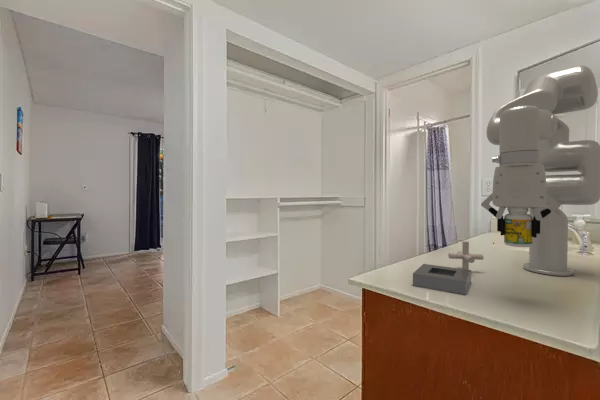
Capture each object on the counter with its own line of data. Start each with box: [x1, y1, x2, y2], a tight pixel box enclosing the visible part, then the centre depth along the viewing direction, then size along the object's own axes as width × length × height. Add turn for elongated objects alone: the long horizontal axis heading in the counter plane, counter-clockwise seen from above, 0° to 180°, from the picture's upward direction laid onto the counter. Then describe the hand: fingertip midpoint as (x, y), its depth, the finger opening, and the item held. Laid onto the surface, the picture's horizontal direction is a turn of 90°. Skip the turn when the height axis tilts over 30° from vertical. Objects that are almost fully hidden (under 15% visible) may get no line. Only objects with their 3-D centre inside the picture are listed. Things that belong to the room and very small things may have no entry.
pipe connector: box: [448, 240, 484, 270], centre depth 94 cm, size 10×10×10 cm
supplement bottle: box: [503, 208, 532, 248], centre depth 68 cm, size 5×5×10 cm
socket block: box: [412, 263, 472, 296], centre depth 81 cm, size 13×13×4 cm
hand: (517, 234), depth 68 cm, fingers closed on supplement bottle, 5 cm apart
